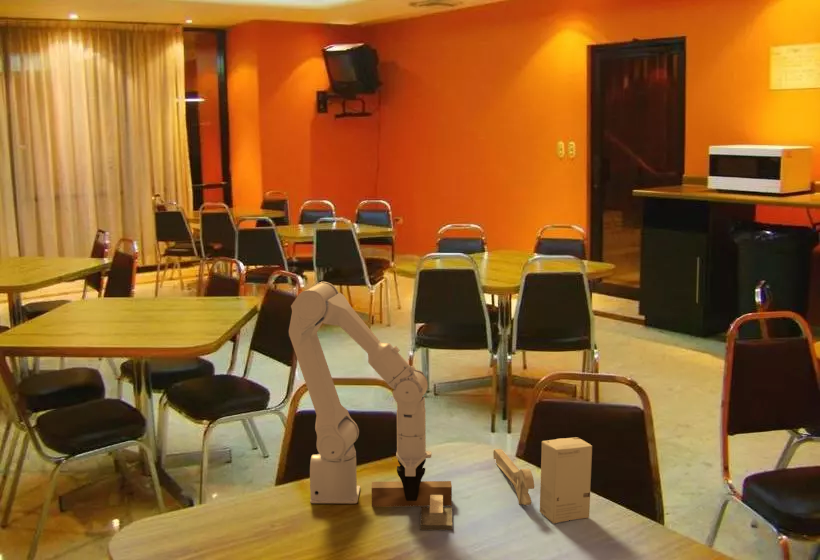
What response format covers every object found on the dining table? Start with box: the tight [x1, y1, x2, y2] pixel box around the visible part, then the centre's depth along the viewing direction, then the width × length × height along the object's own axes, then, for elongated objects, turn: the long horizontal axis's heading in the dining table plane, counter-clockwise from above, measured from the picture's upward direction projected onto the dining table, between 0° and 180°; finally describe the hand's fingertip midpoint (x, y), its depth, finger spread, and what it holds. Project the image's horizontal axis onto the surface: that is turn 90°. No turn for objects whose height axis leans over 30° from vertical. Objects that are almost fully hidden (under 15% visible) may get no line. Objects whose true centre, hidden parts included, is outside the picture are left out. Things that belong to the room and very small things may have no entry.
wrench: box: [492, 448, 535, 506], centre depth 189 cm, size 8×2×30 cm
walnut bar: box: [371, 480, 453, 508], centre depth 181 cm, size 16×3×4 cm, turn 90°
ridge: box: [419, 495, 453, 531], centre depth 173 cm, size 6×8×4 cm
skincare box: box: [539, 436, 593, 525], centre depth 174 cm, size 8×6×15 cm
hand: (411, 496), depth 181 cm, fingers closed on walnut bar, 3 cm apart
